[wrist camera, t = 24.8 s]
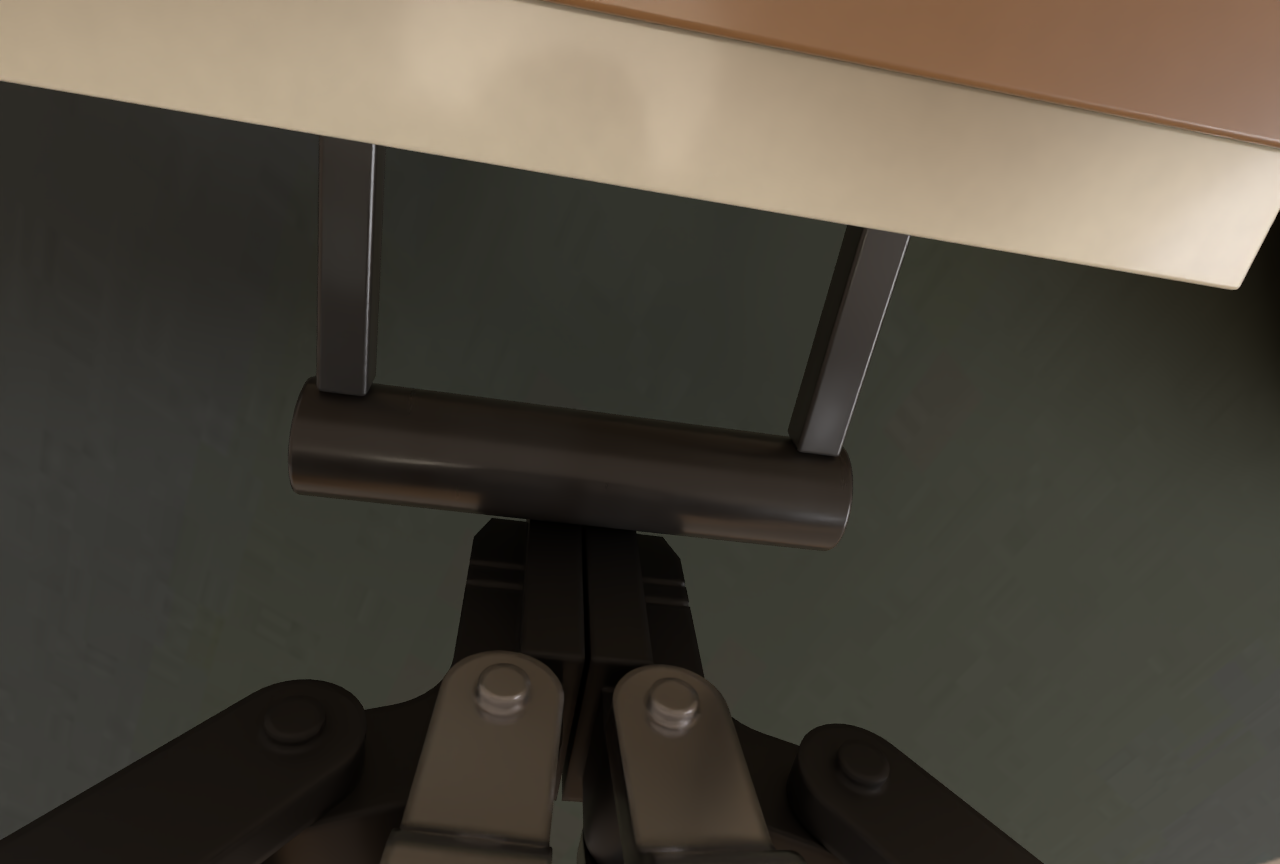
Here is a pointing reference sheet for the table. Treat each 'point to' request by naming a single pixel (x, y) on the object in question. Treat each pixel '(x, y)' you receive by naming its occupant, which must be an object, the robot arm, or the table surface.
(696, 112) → the drawer
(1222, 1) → the brown wooden drawer cabinet
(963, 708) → the table surface
